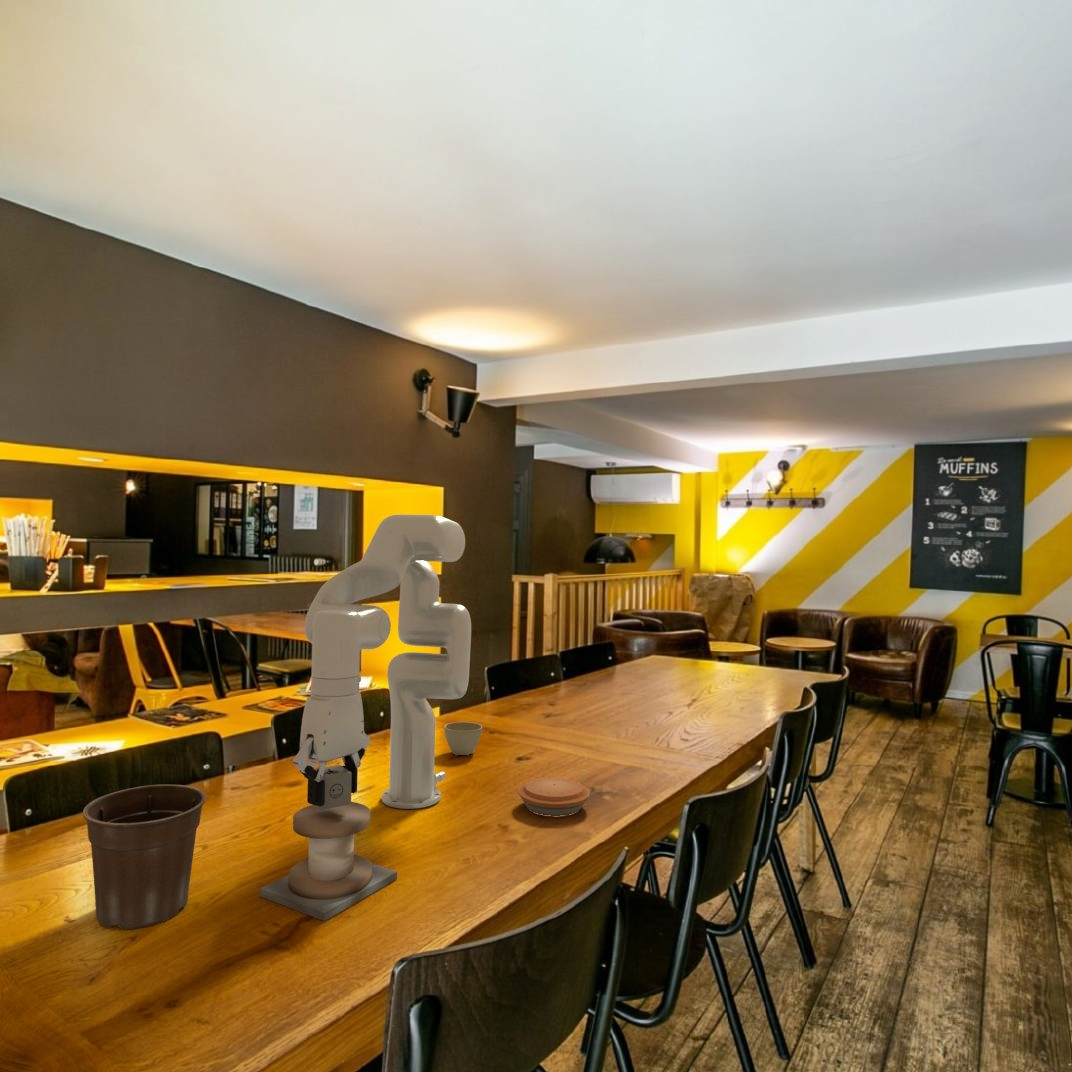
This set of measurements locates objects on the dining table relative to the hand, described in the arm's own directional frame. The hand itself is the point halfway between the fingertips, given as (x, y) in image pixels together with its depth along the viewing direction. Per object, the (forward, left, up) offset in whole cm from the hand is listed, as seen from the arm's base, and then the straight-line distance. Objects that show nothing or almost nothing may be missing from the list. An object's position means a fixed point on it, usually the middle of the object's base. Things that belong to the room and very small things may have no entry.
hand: (332, 796), depth 118 cm
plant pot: (+20, -18, -15) cm, 31 cm away
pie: (-51, +13, -15) cm, 55 cm away
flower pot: (-72, -26, -15) cm, 78 cm away
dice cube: (0, -1, -1) cm, 1 cm away
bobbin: (0, 0, -15) cm, 15 cm away
